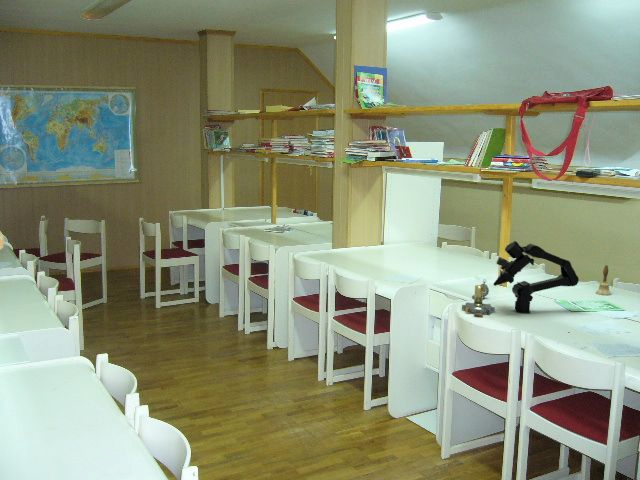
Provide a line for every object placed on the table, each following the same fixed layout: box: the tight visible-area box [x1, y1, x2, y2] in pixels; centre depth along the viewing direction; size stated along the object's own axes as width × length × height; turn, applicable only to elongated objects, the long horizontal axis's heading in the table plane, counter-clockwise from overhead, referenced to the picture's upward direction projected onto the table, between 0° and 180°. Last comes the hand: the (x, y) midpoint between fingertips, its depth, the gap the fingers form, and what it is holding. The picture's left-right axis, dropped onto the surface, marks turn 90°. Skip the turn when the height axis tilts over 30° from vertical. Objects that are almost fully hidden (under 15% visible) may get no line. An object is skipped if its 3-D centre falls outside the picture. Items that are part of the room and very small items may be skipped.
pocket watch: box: [471, 278, 490, 299], centre depth 355 cm, size 8×8×10 cm
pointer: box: [473, 313, 484, 319], centre depth 320 cm, size 4×3×1 cm
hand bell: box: [595, 264, 612, 296], centre depth 369 cm, size 8×8×16 cm
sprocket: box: [461, 284, 496, 315], centre depth 329 cm, size 16×16×11 cm
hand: (493, 284), depth 331 cm, fingers closed
